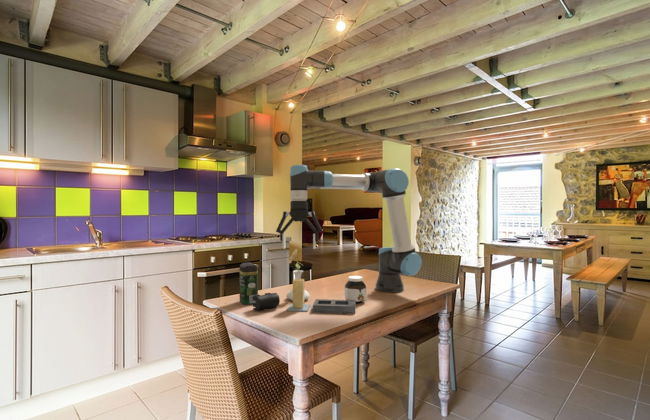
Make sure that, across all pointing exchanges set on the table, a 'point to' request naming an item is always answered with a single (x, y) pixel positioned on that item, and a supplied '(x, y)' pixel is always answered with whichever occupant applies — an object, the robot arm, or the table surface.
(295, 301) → the brass peg
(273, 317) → the table surface
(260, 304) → the end cap
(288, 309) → the slate pad
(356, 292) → the spread jar
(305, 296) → the flower in vase
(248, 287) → the coffee jar
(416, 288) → the table surface
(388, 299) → the table surface
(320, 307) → the steel socket block
